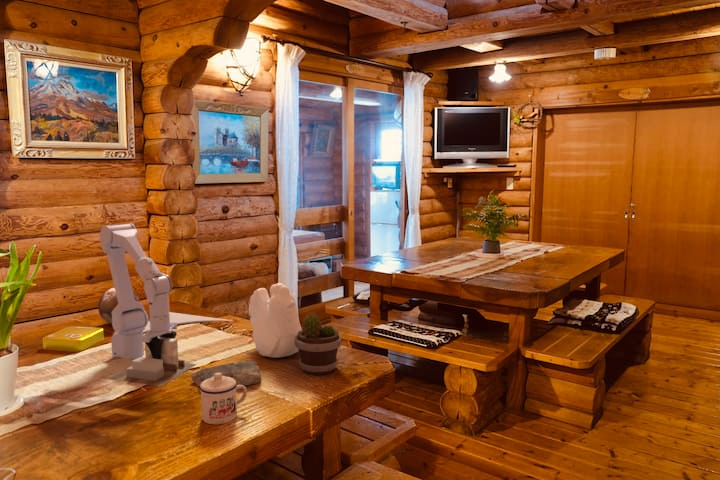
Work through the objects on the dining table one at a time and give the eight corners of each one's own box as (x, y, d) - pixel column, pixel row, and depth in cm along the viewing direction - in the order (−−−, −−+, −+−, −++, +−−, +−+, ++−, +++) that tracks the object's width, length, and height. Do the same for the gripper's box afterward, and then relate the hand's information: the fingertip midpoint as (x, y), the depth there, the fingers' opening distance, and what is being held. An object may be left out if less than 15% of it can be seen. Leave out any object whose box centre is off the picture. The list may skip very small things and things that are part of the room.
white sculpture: (312, 358, 187) (311, 284, 183) (267, 367, 179) (265, 290, 175) (282, 337, 208) (280, 270, 204) (240, 344, 200) (238, 275, 196)
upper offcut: (132, 369, 167) (131, 361, 167) (140, 364, 171) (140, 356, 170) (155, 372, 165) (154, 363, 165) (163, 367, 168) (162, 359, 168)
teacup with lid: (208, 429, 138) (206, 383, 136) (196, 415, 146) (194, 371, 144) (254, 416, 145) (252, 373, 143) (240, 403, 152) (239, 362, 151)
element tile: (106, 339, 207) (106, 326, 206) (79, 353, 192) (78, 339, 192) (70, 336, 210) (69, 324, 209) (40, 350, 195) (39, 337, 194)
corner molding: (232, 324, 229) (162, 314, 233) (232, 320, 229) (162, 311, 233) (201, 355, 201) (122, 344, 205) (201, 351, 200) (122, 340, 204)
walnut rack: (108, 382, 167) (107, 372, 166) (148, 361, 184) (148, 352, 183) (160, 389, 161) (160, 379, 161) (196, 367, 178) (196, 358, 178)
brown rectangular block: (146, 366, 176) (144, 338, 175) (151, 363, 179) (149, 335, 178) (173, 369, 174) (172, 341, 172) (178, 367, 176) (177, 339, 175)
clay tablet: (193, 396, 158) (265, 385, 165) (192, 380, 157) (264, 369, 164) (189, 379, 171) (256, 369, 178) (188, 363, 170) (255, 354, 177)
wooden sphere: (91, 329, 217) (88, 290, 215) (112, 318, 232) (110, 282, 230) (128, 330, 216) (126, 292, 213) (147, 319, 230) (145, 283, 228)
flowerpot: (314, 357, 187) (313, 298, 184) (352, 367, 178) (351, 305, 175) (284, 371, 175) (282, 308, 172) (322, 382, 167) (322, 316, 164)
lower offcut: (126, 376, 168) (126, 368, 168) (135, 371, 172) (135, 363, 172) (155, 380, 165) (154, 372, 165) (163, 375, 169) (163, 367, 169)
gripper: (155, 322, 166) (157, 367, 168) (184, 310, 179) (186, 351, 181) (135, 320, 168) (137, 364, 170) (165, 308, 181) (167, 349, 183)
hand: (161, 357), depth 176 cm, fingers open, 4 cm apart
